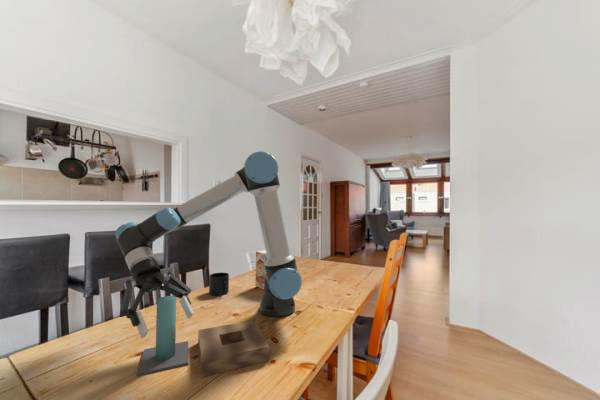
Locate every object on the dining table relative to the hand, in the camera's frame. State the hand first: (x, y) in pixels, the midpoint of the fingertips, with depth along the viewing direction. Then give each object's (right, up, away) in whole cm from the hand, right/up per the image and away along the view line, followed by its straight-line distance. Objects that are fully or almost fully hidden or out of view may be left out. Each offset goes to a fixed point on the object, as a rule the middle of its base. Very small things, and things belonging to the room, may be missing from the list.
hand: (170, 325), depth 71 cm
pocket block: (+16, -10, +4) cm, 20 cm away
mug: (-3, -12, +55) cm, 56 cm away
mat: (-2, -10, +1) cm, 10 cm away
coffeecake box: (+20, -12, +63) cm, 68 cm away
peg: (-2, -9, +1) cm, 9 cm away
